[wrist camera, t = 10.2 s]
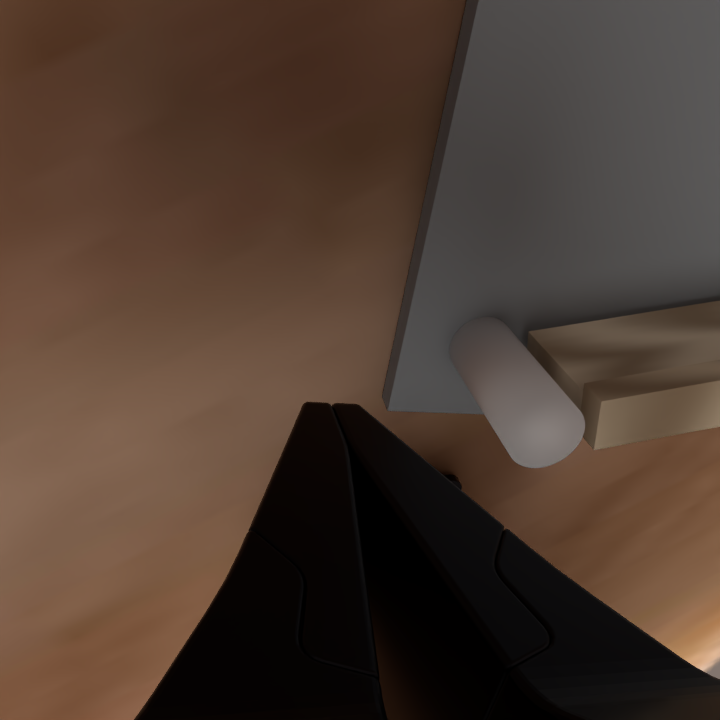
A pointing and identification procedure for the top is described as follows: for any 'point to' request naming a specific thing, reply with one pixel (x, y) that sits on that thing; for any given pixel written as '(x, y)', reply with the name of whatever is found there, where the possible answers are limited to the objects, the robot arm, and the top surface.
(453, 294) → the board
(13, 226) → the top surface
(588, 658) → the robot arm
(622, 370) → the light wood bar
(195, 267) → the top surface
